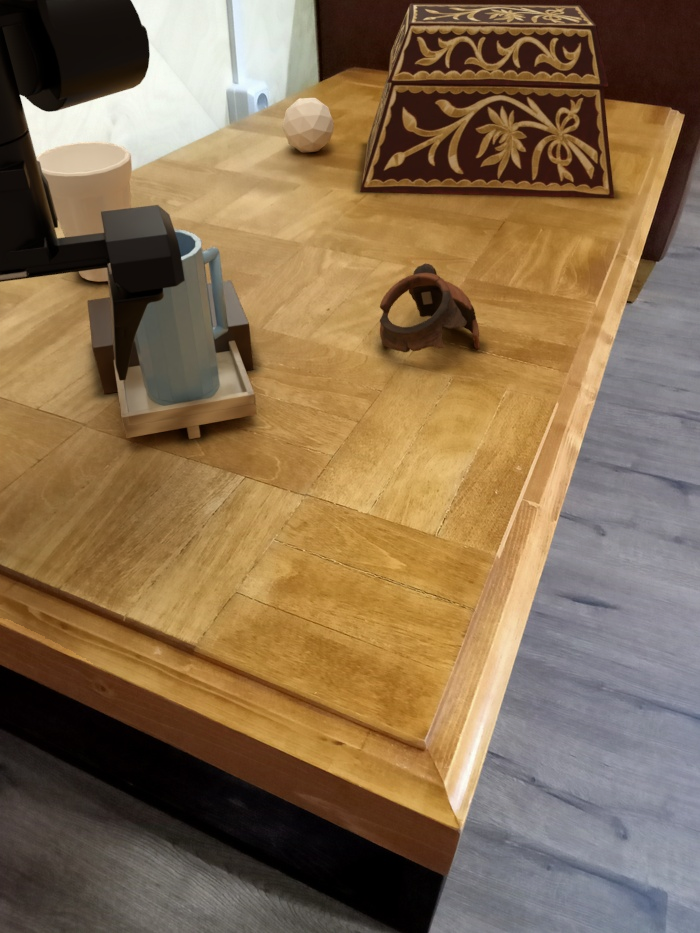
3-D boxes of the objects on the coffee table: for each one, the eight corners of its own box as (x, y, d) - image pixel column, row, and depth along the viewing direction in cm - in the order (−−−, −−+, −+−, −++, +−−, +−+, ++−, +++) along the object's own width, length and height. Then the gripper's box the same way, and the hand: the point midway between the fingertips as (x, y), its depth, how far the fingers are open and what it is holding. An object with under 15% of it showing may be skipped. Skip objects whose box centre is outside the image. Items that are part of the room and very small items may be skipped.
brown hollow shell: (495, 368, 75) (469, 315, 69) (406, 402, 78) (372, 354, 72) (471, 283, 82) (445, 228, 76) (390, 317, 85) (358, 266, 79)
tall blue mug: (181, 416, 65) (156, 272, 56) (130, 389, 67) (99, 249, 59) (256, 368, 70) (242, 230, 62) (205, 345, 73) (186, 211, 65)
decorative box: (360, 191, 108) (361, 28, 95) (366, 145, 123) (368, -2, 110) (614, 197, 107) (651, 32, 93) (589, 149, 121) (618, 1, 108)
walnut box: (111, 454, 65) (98, 405, 62) (98, 344, 78) (87, 300, 75) (274, 423, 68) (271, 376, 65) (235, 323, 81) (231, 279, 78)
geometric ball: (323, 167, 123) (352, 128, 118) (285, 160, 118) (314, 119, 112) (303, 131, 125) (331, 91, 120) (265, 122, 120) (292, 80, 114)
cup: (167, 273, 90) (148, 158, 81) (87, 301, 85) (58, 182, 76) (124, 245, 95) (102, 135, 87) (47, 270, 90) (16, 155, 82)
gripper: (141, 78, 47) (178, 307, 57) (-201, 106, 43) (-95, 348, 53) (163, 135, 39) (202, 390, 49) (-256, 176, 35) (-119, 445, 45)
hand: (48, 389), depth 49 cm, fingers open, 9 cm apart
